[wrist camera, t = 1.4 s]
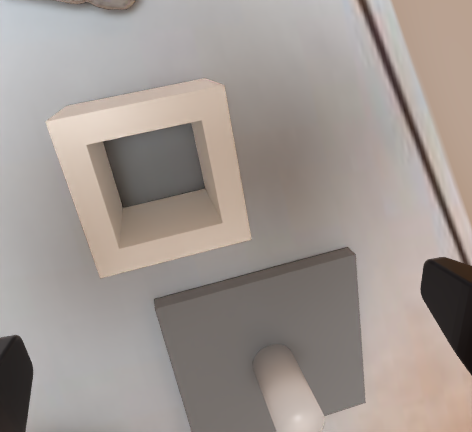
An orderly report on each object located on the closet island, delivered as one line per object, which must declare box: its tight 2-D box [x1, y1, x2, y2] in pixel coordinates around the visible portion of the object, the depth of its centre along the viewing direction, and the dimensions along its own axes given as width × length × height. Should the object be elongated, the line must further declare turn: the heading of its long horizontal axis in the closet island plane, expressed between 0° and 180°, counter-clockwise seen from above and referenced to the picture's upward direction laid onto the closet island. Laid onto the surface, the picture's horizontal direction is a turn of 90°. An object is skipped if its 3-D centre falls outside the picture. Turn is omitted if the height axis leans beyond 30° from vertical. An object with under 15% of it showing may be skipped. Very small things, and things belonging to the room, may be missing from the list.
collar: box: [45, 78, 252, 279], centre depth 19 cm, size 7×7×5 cm
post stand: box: [154, 247, 366, 432], centre depth 24 cm, size 12×12×6 cm
